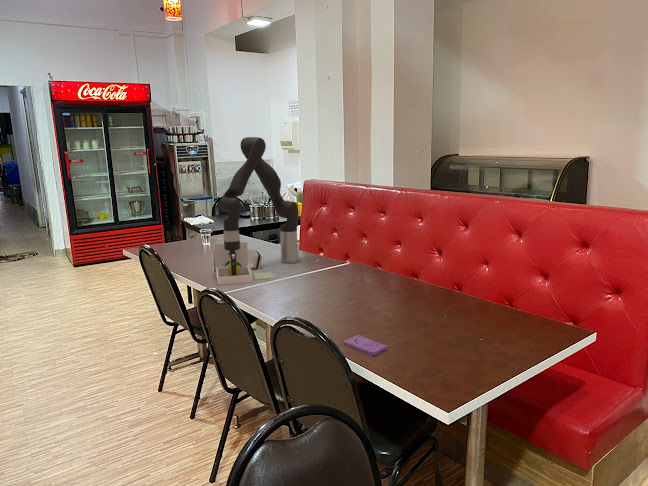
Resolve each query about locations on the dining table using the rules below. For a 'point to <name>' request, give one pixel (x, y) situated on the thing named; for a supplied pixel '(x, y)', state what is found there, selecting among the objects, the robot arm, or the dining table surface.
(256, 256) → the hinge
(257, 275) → the mat
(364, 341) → the sponges
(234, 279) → the case
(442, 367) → the dining table surface
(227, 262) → the lemon
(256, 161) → the robot arm
